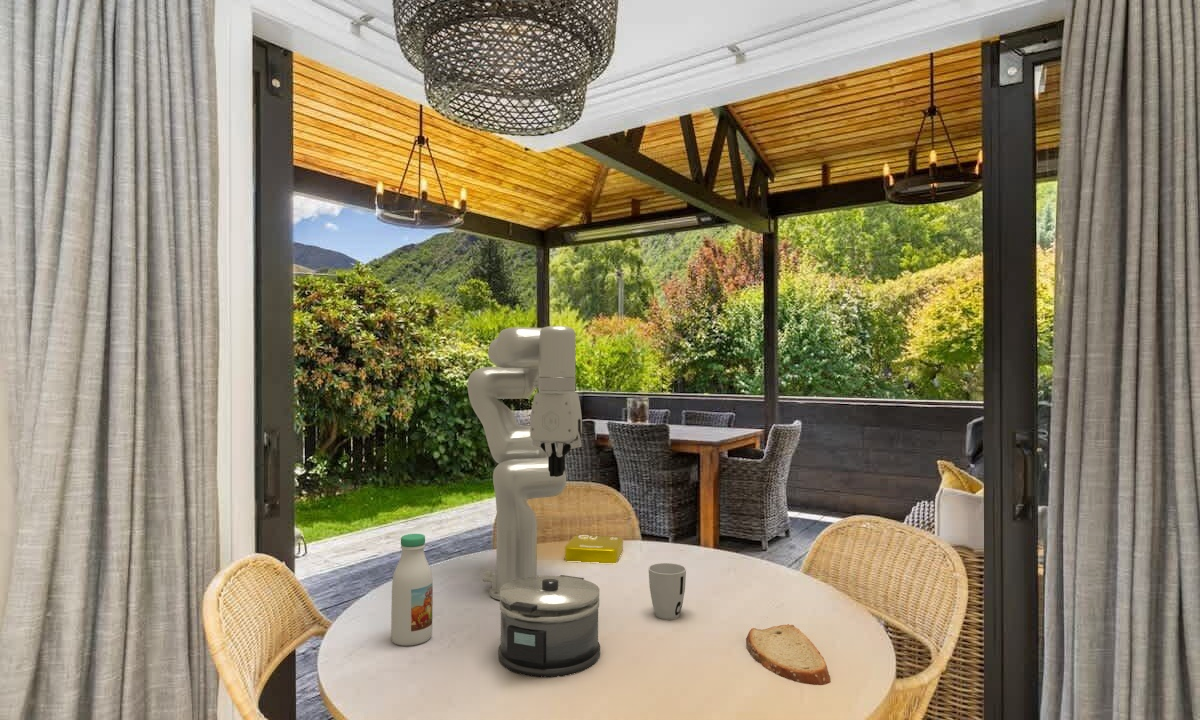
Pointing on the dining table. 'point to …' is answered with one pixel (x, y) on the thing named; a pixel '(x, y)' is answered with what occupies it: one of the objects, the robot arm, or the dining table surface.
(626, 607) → the dining table surface
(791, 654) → the slice of bread
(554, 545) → the dining table surface
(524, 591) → the lid
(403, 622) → the milk bottle
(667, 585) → the cup
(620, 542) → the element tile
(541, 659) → the pot
